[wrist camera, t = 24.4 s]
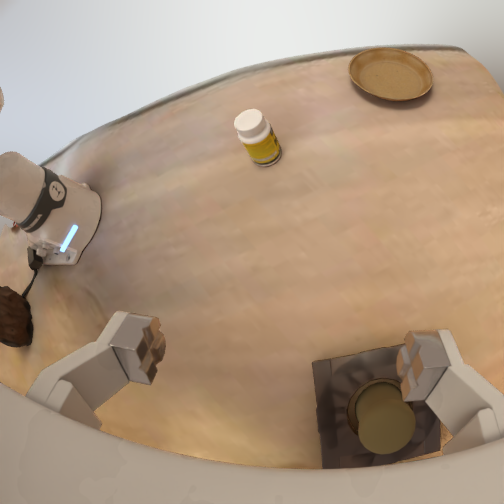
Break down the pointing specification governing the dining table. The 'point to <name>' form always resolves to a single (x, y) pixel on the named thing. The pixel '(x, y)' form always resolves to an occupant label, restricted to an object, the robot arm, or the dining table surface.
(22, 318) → the owl
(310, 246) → the dining table surface
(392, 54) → the plant saucer
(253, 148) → the supplement bottle
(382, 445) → the pepper shaker
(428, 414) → the holder
